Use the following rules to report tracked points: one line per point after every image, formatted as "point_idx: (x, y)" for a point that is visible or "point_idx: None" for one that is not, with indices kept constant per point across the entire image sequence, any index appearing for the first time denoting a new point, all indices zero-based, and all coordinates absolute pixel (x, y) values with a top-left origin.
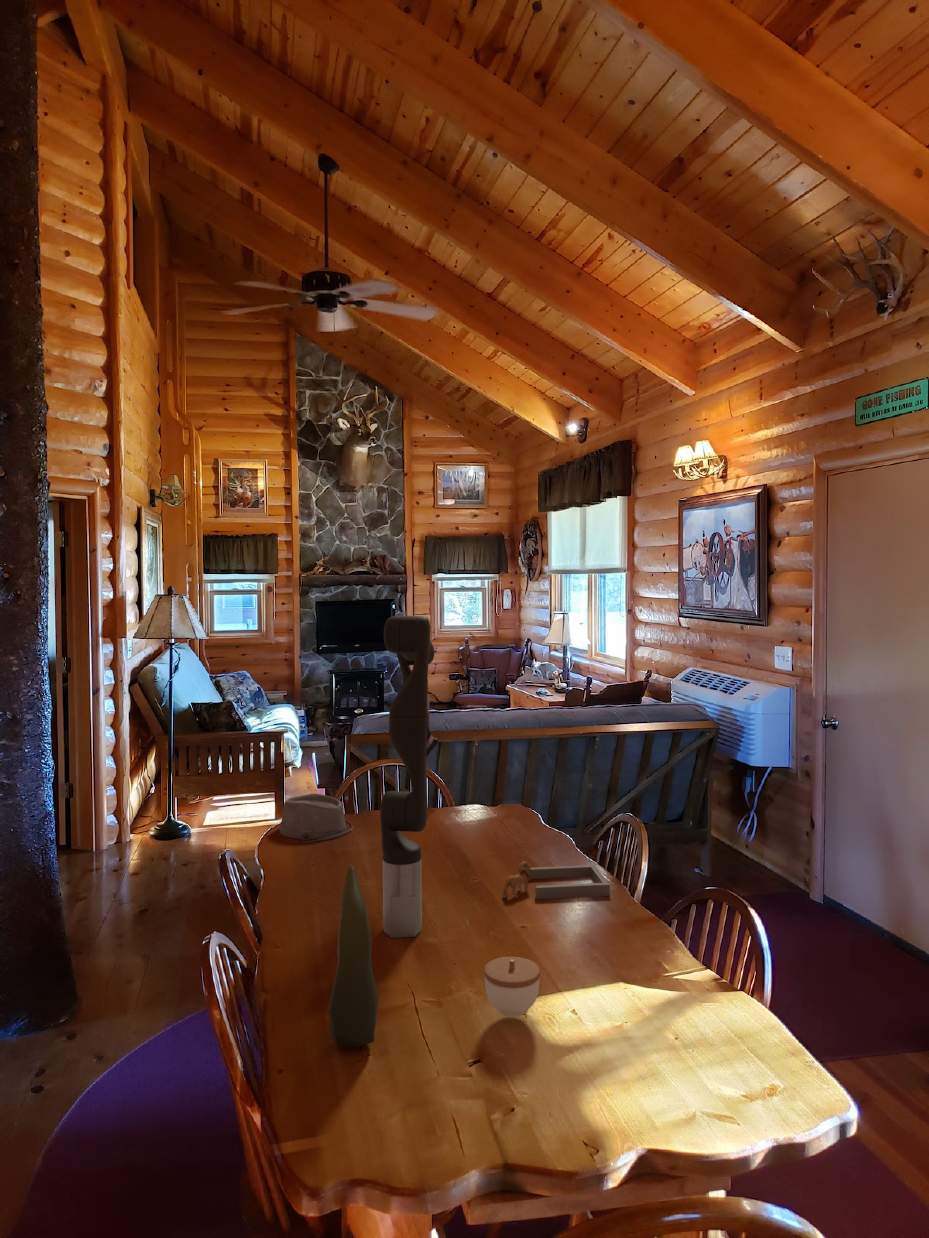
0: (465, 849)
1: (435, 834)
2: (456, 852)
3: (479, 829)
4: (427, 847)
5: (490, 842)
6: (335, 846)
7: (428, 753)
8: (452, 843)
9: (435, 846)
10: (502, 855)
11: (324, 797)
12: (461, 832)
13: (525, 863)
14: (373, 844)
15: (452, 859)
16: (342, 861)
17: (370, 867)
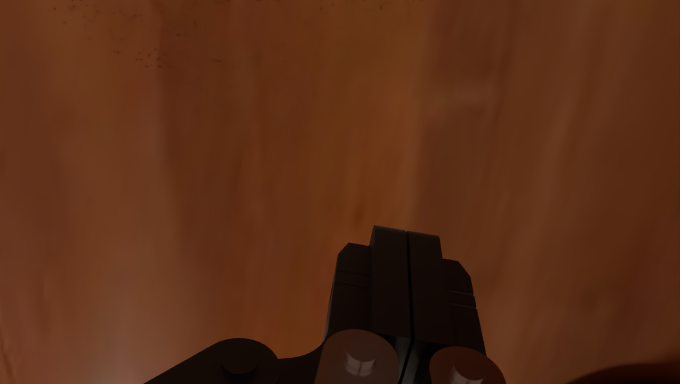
0: (161, 208)
1: None
2: (197, 189)
3: (94, 362)
4: (292, 262)
5: (65, 247)
6: (596, 354)
7: (173, 381)
8: (199, 274)
9: (263, 264)
10: (27, 111)
11: None
12: (156, 355)
13: None
14: None
15: (222, 124)
16: (627, 218)
17: (549, 130)
